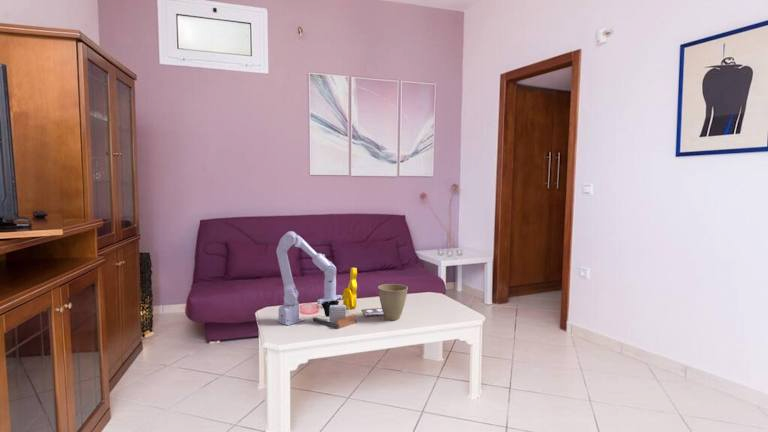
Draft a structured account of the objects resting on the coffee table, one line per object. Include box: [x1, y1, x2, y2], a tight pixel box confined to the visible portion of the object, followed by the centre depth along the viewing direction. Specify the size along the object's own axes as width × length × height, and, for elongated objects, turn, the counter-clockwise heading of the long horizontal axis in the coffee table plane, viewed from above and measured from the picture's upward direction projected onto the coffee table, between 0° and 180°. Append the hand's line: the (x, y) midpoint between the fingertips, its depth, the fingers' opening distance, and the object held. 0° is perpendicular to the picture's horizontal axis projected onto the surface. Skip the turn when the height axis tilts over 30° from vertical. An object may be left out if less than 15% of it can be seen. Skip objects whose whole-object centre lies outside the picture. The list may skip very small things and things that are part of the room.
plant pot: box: [377, 283, 409, 321], centre depth 220 cm, size 15×15×16 cm
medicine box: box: [328, 304, 347, 324], centre depth 211 cm, size 8×4×9 cm, turn 93°
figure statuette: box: [340, 267, 358, 310], centre depth 238 cm, size 18×8×22 cm, turn 26°
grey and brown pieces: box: [312, 314, 358, 330], centre depth 214 cm, size 12×18×4 cm
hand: (329, 315), depth 216 cm, fingers open, 3 cm apart
